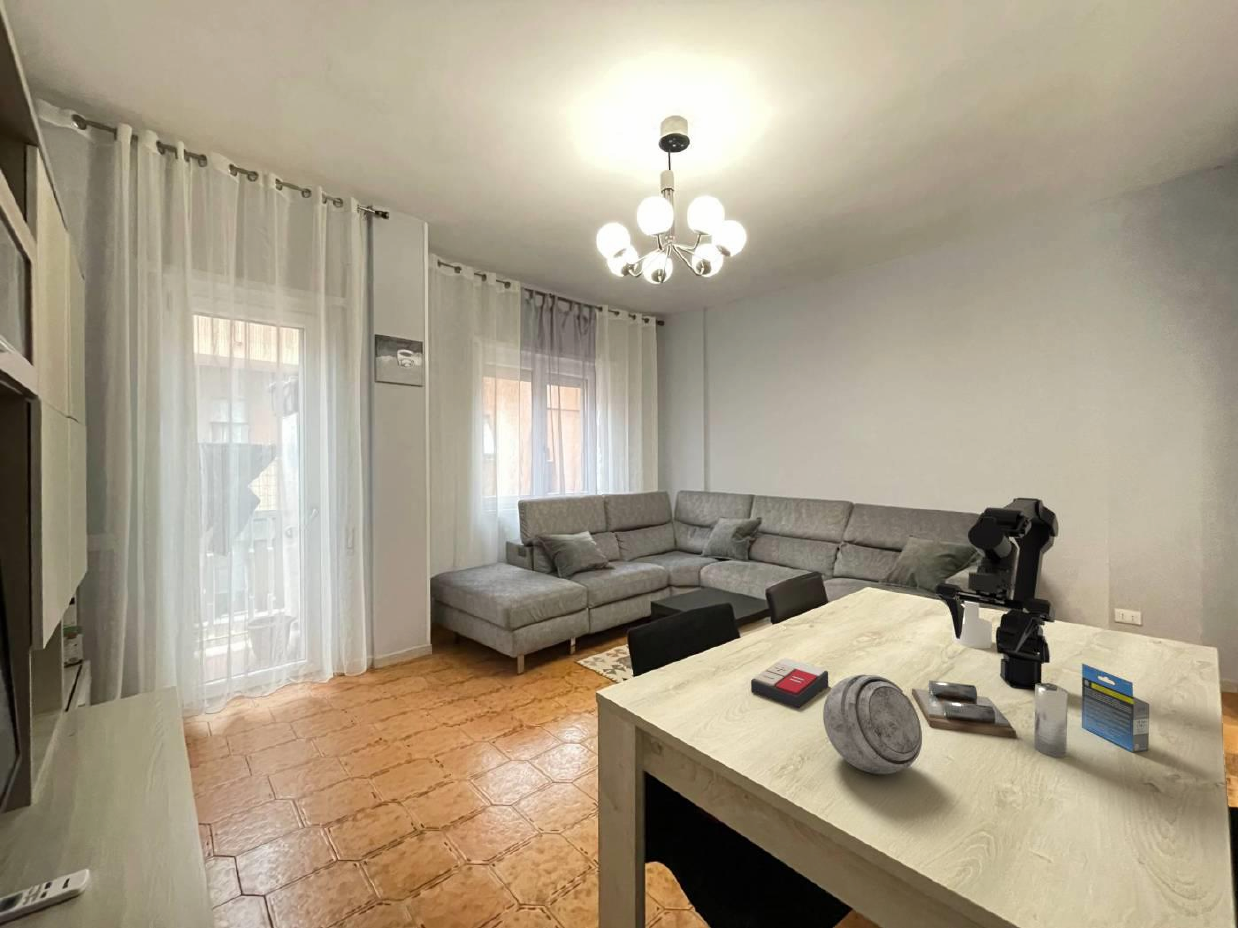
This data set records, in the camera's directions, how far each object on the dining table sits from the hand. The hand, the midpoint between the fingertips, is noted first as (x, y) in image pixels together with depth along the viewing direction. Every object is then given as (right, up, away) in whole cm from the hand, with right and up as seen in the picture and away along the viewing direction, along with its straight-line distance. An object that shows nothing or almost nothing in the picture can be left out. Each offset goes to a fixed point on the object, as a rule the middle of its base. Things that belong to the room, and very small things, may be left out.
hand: (985, 644), depth 101 cm
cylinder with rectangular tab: (+27, -15, +44) cm, 53 cm away
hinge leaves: (-2, -14, +4) cm, 15 cm away
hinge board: (-2, -15, +4) cm, 16 cm away
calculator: (-32, -16, +16) cm, 39 cm away
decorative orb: (-28, -16, -13) cm, 35 cm away
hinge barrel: (+5, -16, -8) cm, 19 cm away
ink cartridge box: (+20, -16, -5) cm, 26 cm away
